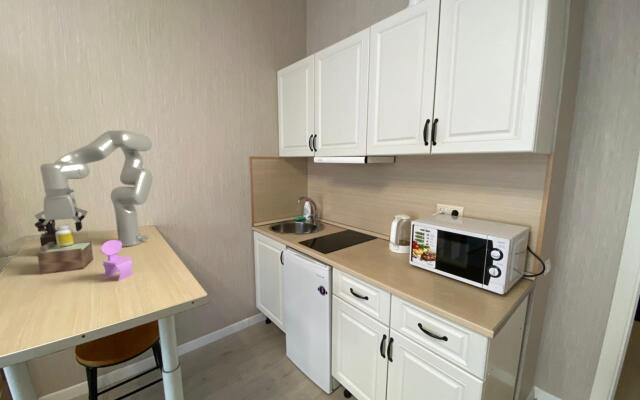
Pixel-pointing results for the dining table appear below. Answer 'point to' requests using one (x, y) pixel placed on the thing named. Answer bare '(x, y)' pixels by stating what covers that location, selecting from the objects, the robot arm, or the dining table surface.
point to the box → (65, 259)
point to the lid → (51, 247)
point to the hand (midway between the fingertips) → (65, 231)
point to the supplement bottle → (64, 237)
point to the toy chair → (115, 260)
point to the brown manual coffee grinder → (46, 233)
